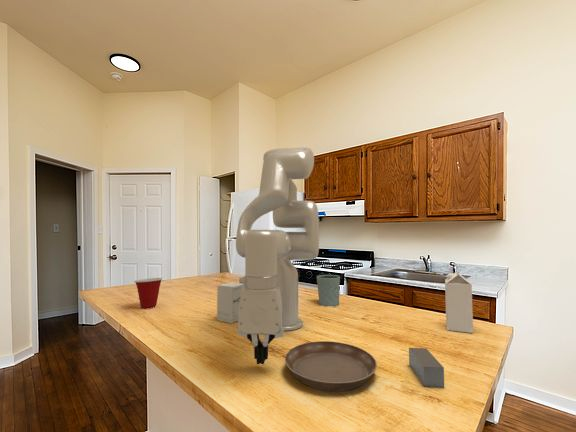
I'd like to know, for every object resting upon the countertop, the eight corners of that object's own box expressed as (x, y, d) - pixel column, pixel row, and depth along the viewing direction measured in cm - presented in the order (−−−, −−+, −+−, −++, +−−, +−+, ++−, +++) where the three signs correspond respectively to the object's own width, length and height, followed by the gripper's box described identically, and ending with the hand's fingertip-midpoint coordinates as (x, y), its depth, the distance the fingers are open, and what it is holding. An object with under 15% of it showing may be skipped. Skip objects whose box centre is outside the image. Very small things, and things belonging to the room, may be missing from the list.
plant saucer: (397, 388, 61) (396, 372, 62) (302, 405, 56) (302, 387, 56) (349, 349, 81) (348, 337, 81) (275, 359, 75) (275, 346, 75)
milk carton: (470, 327, 99) (468, 269, 100) (473, 333, 92) (471, 272, 93) (446, 324, 102) (444, 268, 103) (447, 330, 95) (445, 270, 96)
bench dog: (424, 386, 62) (423, 366, 62) (409, 364, 72) (408, 347, 72) (444, 387, 61) (443, 367, 61) (426, 365, 71) (426, 348, 71)
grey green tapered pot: (342, 307, 125) (341, 278, 125) (317, 307, 125) (317, 278, 125) (338, 301, 135) (338, 274, 135) (315, 301, 135) (315, 274, 136)
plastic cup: (153, 302, 134) (153, 275, 134) (167, 306, 127) (167, 277, 128) (128, 307, 125) (129, 279, 126) (142, 312, 119) (142, 281, 119)
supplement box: (231, 323, 103) (232, 286, 104) (216, 320, 107) (216, 284, 108) (245, 318, 110) (245, 283, 110) (230, 315, 114) (230, 281, 114)
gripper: (225, 285, 68) (225, 367, 67) (291, 286, 66) (291, 370, 65) (234, 279, 75) (234, 354, 74) (293, 280, 74) (294, 356, 73)
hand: (261, 361), depth 70 cm, fingers closed
